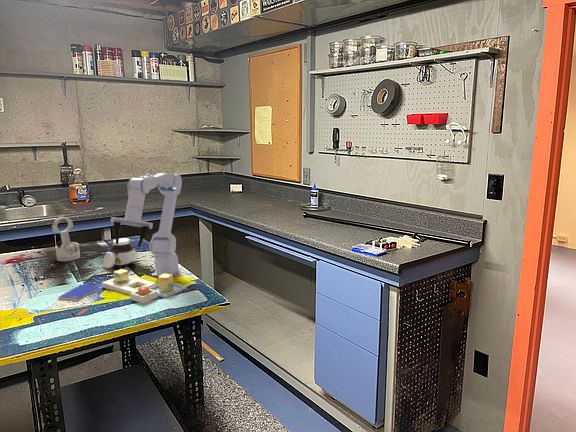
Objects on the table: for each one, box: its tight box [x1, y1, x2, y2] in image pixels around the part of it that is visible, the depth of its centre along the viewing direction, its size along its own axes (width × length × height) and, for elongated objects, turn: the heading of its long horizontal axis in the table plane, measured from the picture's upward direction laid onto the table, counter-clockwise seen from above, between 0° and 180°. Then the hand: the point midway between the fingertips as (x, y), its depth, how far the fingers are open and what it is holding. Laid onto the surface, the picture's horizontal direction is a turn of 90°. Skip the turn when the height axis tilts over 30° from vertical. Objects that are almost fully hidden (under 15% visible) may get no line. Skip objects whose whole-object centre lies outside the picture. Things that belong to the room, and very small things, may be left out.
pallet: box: [101, 275, 158, 296], centre depth 172 cm, size 11×19×2 cm, turn 59°
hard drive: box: [58, 284, 100, 302], centre depth 166 cm, size 2×8×12 cm
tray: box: [149, 281, 188, 299], centre depth 168 cm, size 11×11×2 cm
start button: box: [137, 286, 150, 296], centre depth 160 cm, size 4×4×3 cm
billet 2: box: [157, 274, 174, 293], centre depth 167 cm, size 4×4×6 cm
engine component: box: [51, 216, 81, 262], centre depth 205 cm, size 11×20×10 cm
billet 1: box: [112, 268, 130, 284], centre depth 174 cm, size 4×4×6 cm
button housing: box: [130, 289, 158, 305], centre depth 160 cm, size 7×7×3 cm
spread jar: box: [102, 237, 136, 269], centre depth 196 cm, size 12×11×12 cm
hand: (128, 245), depth 157 cm, fingers open, 7 cm apart
